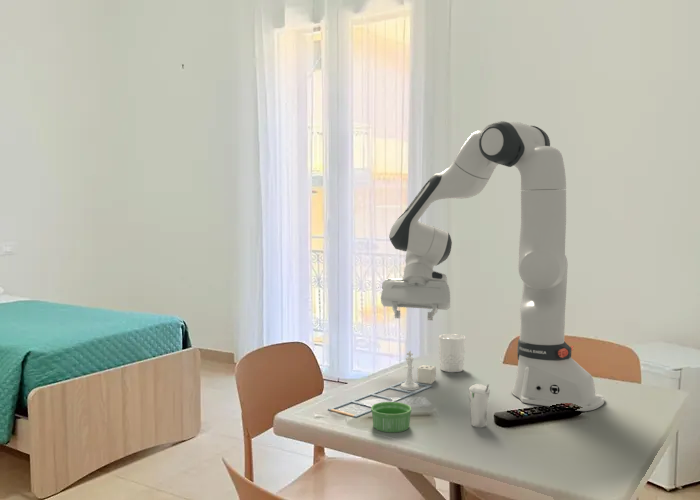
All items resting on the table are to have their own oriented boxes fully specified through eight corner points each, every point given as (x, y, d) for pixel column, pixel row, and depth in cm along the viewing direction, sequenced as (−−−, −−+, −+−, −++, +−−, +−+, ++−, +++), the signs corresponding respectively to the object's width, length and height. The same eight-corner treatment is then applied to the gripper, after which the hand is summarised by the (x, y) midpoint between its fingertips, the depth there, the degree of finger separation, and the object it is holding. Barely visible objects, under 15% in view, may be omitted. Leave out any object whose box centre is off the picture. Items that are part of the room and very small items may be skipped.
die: (435, 380, 183) (435, 366, 183) (431, 384, 180) (431, 369, 179) (421, 378, 185) (422, 364, 185) (417, 382, 181) (417, 368, 181)
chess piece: (412, 391, 172) (412, 354, 171) (396, 388, 175) (397, 351, 174) (422, 387, 176) (422, 350, 175) (406, 384, 179) (406, 348, 178)
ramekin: (419, 428, 144) (420, 409, 144) (387, 437, 139) (387, 416, 139) (394, 417, 151) (394, 399, 151) (363, 425, 146) (363, 405, 146)
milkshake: (479, 431, 142) (480, 385, 142) (464, 423, 147) (464, 380, 146) (495, 427, 144) (496, 383, 144) (480, 420, 149) (481, 377, 148)
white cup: (438, 372, 192) (438, 338, 191) (438, 365, 199) (439, 333, 199) (465, 373, 190) (465, 339, 190) (465, 366, 198) (465, 334, 197)
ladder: (431, 386, 176) (431, 385, 176) (356, 417, 151) (356, 416, 151) (405, 381, 182) (405, 380, 182) (328, 410, 156) (328, 408, 156)
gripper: (382, 272, 195) (376, 309, 186) (451, 275, 191) (448, 313, 182) (384, 284, 200) (378, 322, 191) (451, 288, 196) (449, 326, 187)
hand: (413, 318), depth 187 cm, fingers open, 8 cm apart
